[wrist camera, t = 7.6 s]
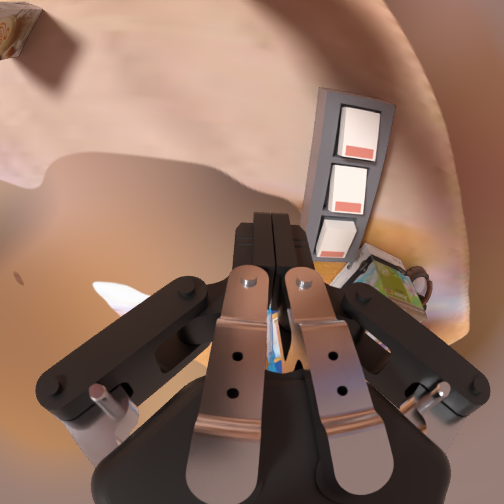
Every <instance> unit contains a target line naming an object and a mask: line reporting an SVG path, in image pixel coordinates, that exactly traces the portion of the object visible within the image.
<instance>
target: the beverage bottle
mask: <svg viewBox="0 0 504 504" xmlns="http://www.w3.org/2000/svg"><path fill="white" fill-rule="evenodd" d="M277 319H278V314H277V311H275V310H271V306H270V307H269V310H267V360H268V362H269V365H268V371H272V372H277V373H282V362H281V355H280V349H279V342H278V336H277V329H276V324H277Z"/></svg>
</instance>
